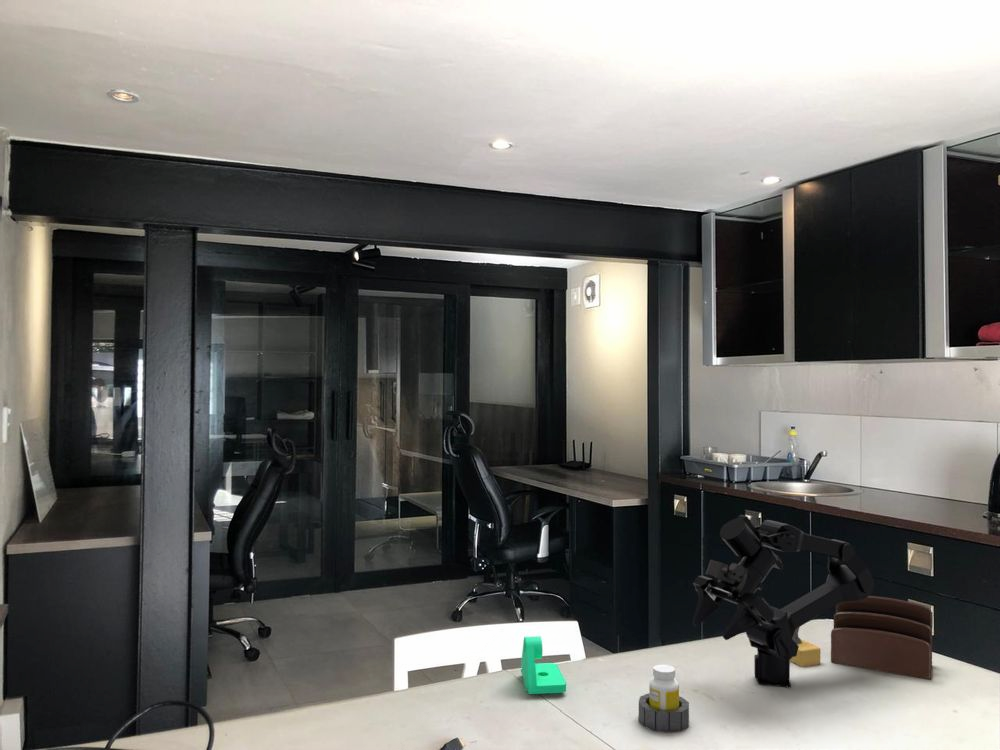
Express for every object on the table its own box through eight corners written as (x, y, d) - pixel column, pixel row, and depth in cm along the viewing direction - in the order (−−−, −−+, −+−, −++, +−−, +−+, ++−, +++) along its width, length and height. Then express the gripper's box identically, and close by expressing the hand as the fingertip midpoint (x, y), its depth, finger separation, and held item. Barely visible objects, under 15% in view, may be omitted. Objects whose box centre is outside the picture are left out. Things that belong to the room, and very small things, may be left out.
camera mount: (567, 697, 155) (567, 646, 155) (529, 699, 154) (529, 647, 154) (556, 675, 167) (556, 627, 167) (520, 676, 166) (521, 628, 166)
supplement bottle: (680, 717, 146) (680, 665, 146) (677, 729, 141) (677, 675, 141) (651, 713, 148) (651, 661, 148) (647, 725, 143) (647, 671, 143)
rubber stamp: (770, 652, 181) (770, 600, 181) (790, 649, 183) (791, 598, 183) (800, 667, 172) (800, 612, 172) (821, 664, 174) (821, 610, 174)
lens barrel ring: (689, 714, 147) (689, 695, 147) (688, 735, 139) (688, 715, 139) (641, 708, 150) (641, 690, 150) (636, 728, 141) (637, 709, 141)
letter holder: (836, 650, 183) (836, 590, 183) (932, 666, 173) (932, 602, 173) (830, 663, 175) (830, 600, 175) (931, 681, 165) (931, 614, 165)
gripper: (700, 537, 167) (657, 594, 163) (763, 555, 150) (717, 620, 146) (728, 570, 171) (687, 627, 166) (793, 592, 154) (750, 656, 149)
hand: (708, 631), depth 157 cm, fingers open, 9 cm apart
